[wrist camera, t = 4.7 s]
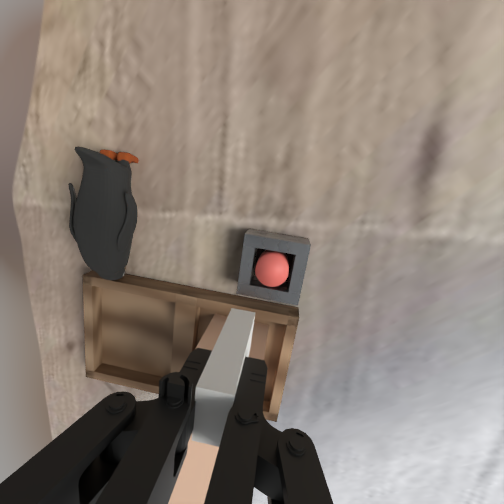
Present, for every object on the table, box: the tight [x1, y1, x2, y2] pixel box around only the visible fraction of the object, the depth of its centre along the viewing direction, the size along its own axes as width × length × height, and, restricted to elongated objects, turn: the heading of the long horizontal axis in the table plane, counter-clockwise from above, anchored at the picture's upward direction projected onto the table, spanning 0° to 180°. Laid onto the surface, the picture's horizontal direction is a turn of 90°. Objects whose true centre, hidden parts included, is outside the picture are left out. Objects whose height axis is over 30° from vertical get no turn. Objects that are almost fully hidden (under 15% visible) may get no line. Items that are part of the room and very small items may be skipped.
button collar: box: [237, 229, 311, 305], centre depth 31 cm, size 7×7×3 cm
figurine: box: [69, 147, 138, 280], centre depth 30 cm, size 7×10×15 cm
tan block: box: [168, 314, 269, 504], centre depth 28 cm, size 10×7×15 cm
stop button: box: [255, 250, 289, 287], centre depth 30 cm, size 4×4×3 cm
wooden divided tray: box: [83, 270, 299, 422], centre depth 35 cm, size 15×27×3 cm, turn 81°
